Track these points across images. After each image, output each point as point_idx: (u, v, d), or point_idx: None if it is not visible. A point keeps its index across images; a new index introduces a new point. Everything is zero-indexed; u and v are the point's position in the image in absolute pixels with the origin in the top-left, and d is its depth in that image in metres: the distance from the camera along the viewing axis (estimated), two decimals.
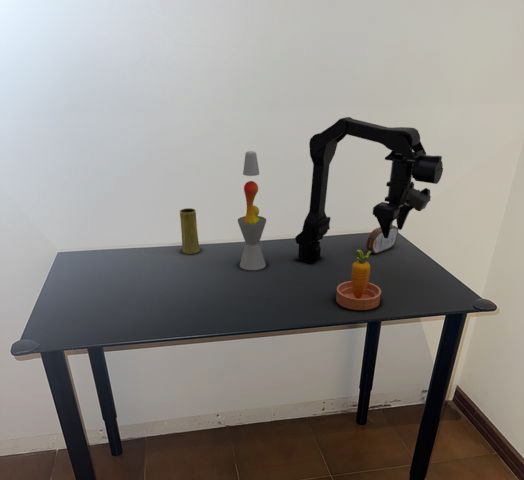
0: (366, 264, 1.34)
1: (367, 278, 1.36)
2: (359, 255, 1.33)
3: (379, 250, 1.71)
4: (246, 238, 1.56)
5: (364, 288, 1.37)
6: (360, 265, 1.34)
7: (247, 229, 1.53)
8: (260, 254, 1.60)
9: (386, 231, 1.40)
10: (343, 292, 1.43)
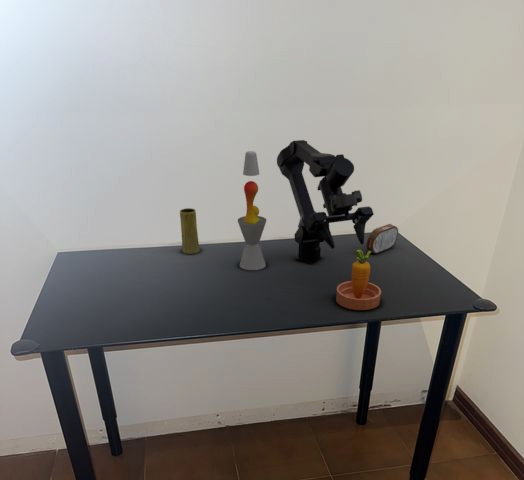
0: (366, 264, 1.34)
1: (367, 278, 1.36)
2: (359, 255, 1.33)
3: (379, 250, 1.71)
4: (246, 238, 1.56)
5: (364, 288, 1.37)
6: (360, 265, 1.34)
7: (247, 229, 1.53)
8: (260, 254, 1.60)
9: (328, 240, 1.39)
10: (343, 292, 1.43)
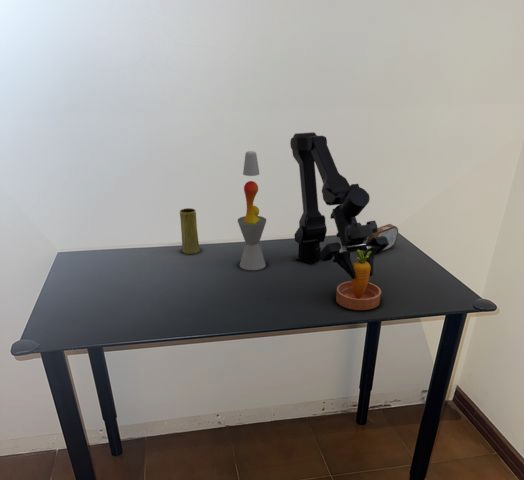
0: (366, 264, 1.34)
1: (367, 278, 1.36)
2: (359, 255, 1.33)
3: None
4: (246, 238, 1.56)
5: (364, 288, 1.37)
6: (360, 265, 1.34)
7: (247, 229, 1.53)
8: (260, 254, 1.60)
9: (349, 271, 1.35)
10: (343, 292, 1.43)
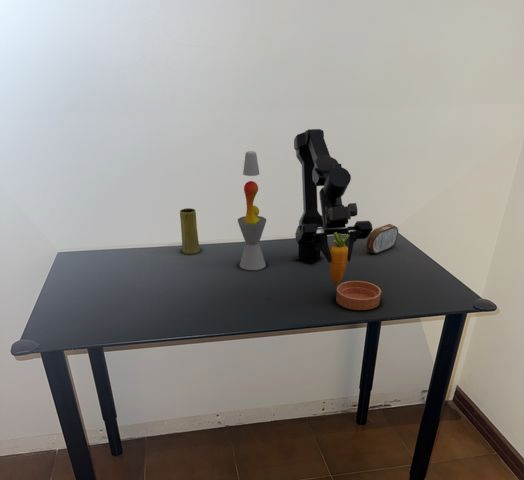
0: (343, 248, 1.29)
1: (344, 262, 1.31)
2: (336, 238, 1.29)
3: (379, 250, 1.71)
4: (246, 238, 1.56)
5: (341, 273, 1.33)
6: (336, 248, 1.29)
7: (247, 229, 1.53)
8: (260, 254, 1.60)
9: (326, 254, 1.31)
10: (343, 292, 1.43)
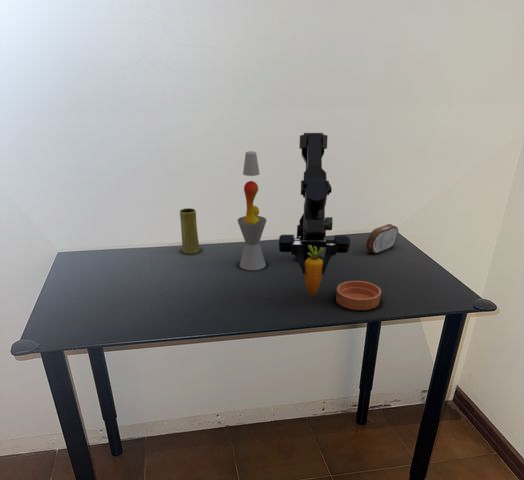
0: (316, 261, 1.30)
1: (318, 275, 1.32)
2: (311, 250, 1.31)
3: (379, 250, 1.71)
4: (246, 238, 1.56)
5: (315, 285, 1.34)
6: (310, 261, 1.31)
7: (247, 229, 1.53)
8: (260, 254, 1.60)
9: (300, 265, 1.33)
10: (343, 292, 1.43)
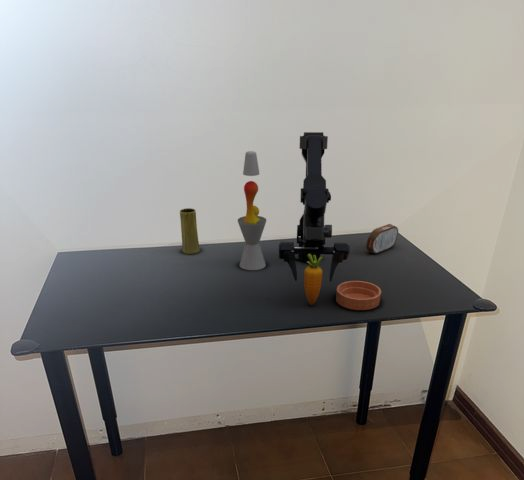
0: (316, 269, 1.32)
1: (317, 284, 1.33)
2: (310, 259, 1.32)
3: (379, 250, 1.71)
4: (246, 238, 1.56)
5: (315, 294, 1.35)
6: (309, 269, 1.32)
7: (247, 229, 1.53)
8: (260, 254, 1.60)
9: (293, 272, 1.34)
10: (343, 292, 1.43)
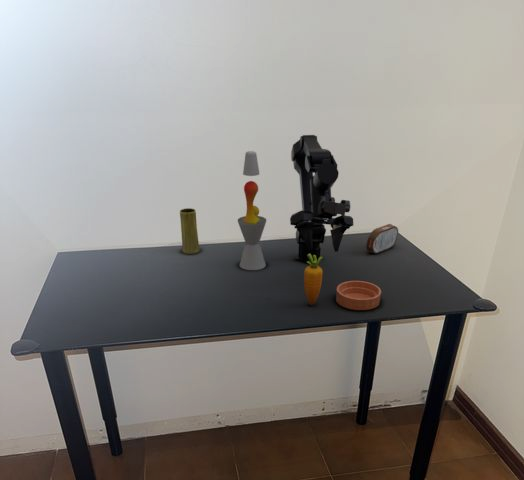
0: (316, 269, 1.32)
1: (317, 284, 1.33)
2: (310, 259, 1.32)
3: (379, 250, 1.71)
4: (246, 238, 1.56)
5: (315, 294, 1.35)
6: (309, 269, 1.32)
7: (247, 229, 1.53)
8: (260, 254, 1.60)
9: (308, 241, 1.39)
10: (343, 292, 1.43)
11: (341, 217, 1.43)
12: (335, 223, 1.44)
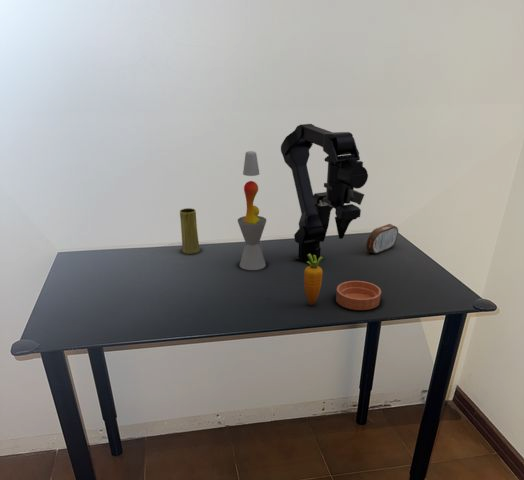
0: (316, 269, 1.32)
1: (317, 284, 1.33)
2: (310, 259, 1.32)
3: (379, 250, 1.71)
4: (246, 238, 1.56)
5: (315, 294, 1.35)
6: (309, 269, 1.32)
7: (247, 229, 1.53)
8: (260, 254, 1.60)
9: (343, 232, 1.45)
10: (343, 292, 1.43)
11: None
12: None
